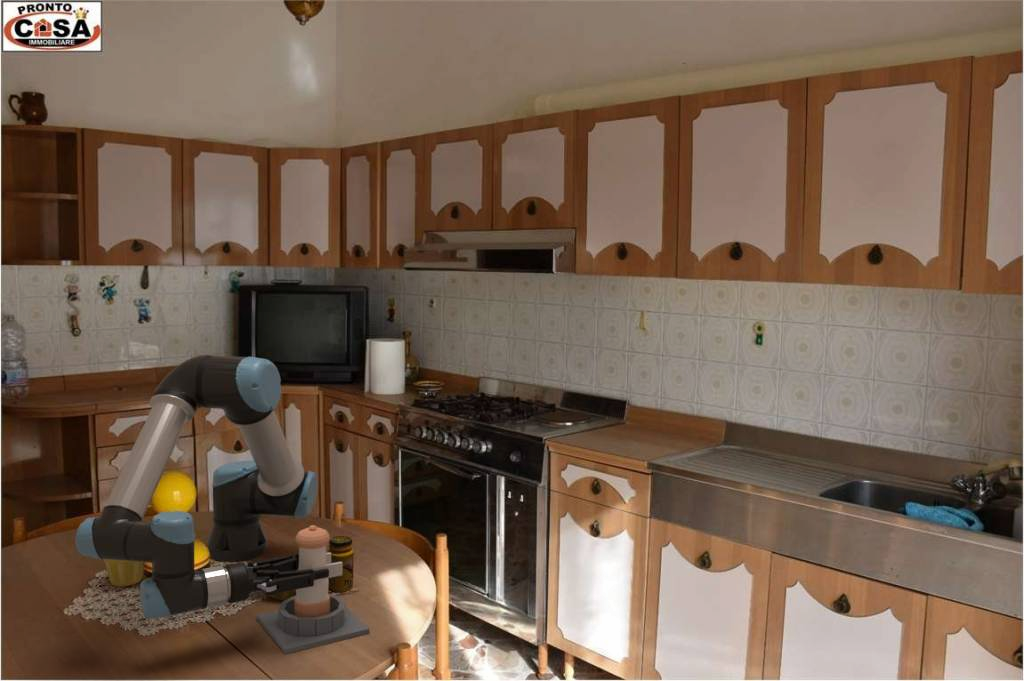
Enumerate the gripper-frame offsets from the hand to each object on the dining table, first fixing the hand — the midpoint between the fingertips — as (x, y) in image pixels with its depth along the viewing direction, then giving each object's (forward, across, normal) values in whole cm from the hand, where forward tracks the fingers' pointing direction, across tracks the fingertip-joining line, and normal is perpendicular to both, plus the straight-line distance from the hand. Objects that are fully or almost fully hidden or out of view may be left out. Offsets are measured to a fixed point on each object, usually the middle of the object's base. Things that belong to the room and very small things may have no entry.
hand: (335, 563), depth 182 cm
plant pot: (-34, -44, -13) cm, 57 cm away
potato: (-6, -18, -13) cm, 23 cm away
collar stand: (-5, 0, -13) cm, 14 cm away
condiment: (+7, -16, -13) cm, 22 cm away
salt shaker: (-5, 0, -10) cm, 11 cm away
